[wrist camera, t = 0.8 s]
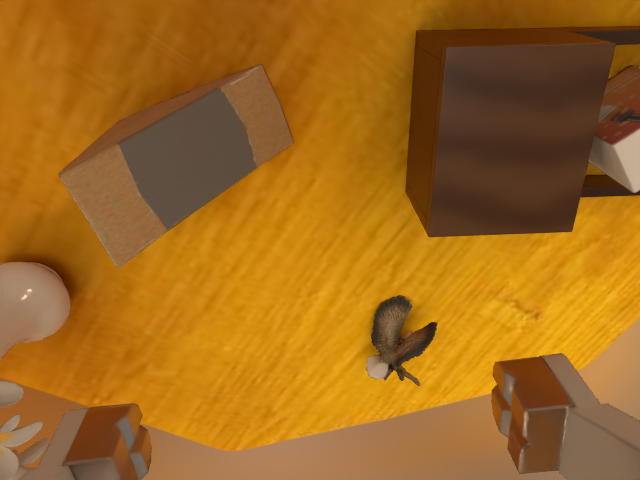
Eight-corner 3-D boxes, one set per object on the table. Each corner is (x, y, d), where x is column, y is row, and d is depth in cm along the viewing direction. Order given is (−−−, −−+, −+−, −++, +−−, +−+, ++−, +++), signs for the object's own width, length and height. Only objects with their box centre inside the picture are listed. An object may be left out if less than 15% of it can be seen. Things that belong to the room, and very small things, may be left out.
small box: (630, 63, 51) (707, 86, 42) (650, 110, 53) (726, 141, 44) (554, 113, 53) (611, 145, 44) (576, 156, 55) (635, 195, 46)
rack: (415, 30, 49) (446, 46, 39) (700, 24, 50) (794, 38, 41) (405, 191, 56) (428, 237, 47) (652, 183, 57) (723, 226, 48)
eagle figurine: (431, 363, 66) (449, 313, 60) (409, 404, 61) (426, 353, 55) (377, 336, 69) (389, 285, 63) (351, 373, 64) (361, 321, 58)
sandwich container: (296, 144, 53) (299, 205, 40) (158, 196, 55) (117, 271, 42) (262, 61, 49) (253, 97, 36) (115, 119, 51) (54, 175, 38)
